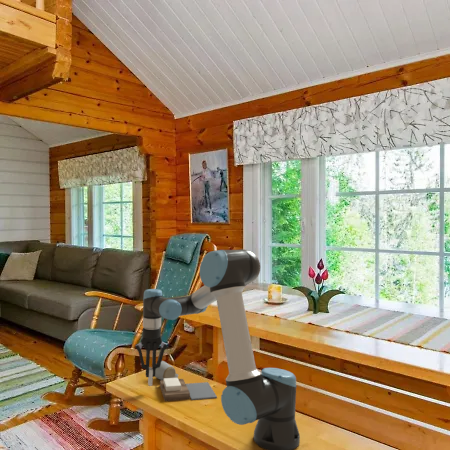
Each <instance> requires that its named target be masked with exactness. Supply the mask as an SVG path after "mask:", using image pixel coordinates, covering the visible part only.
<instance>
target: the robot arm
mask: <svg viewBox="0 0 450 450" xmlns="http://www.w3.org/2000/svg"><path fill="white" fill-rule="evenodd" d="M260 272H261V262H260V260H259V257H257V255H256V254H255V253H254V252H252V251H250V250H248V249H219V250H213V251H209V252H207V253H206V254H205V255H204V257H203V258H202V260H201V262H200V266H199V277H200V281H201V282H202V284H203V286H201V287H200V288H199V289H196V290H195V291H194V292H192V293H191V294H189V295H185V296H177V297H176V296H175V297H164V296H163V291H162V289H159V288H158V289H157V288H149V289H144V292H143V298H142V306H143V307H142V330H141V331H142V334H141V335H142V336H141V340H140V342H139V343H136V344H135V348H136V350H137V352H138V357H139V360H140V366H141V368H142V369H145V377H146V378H147V385H148V386H149V387H152V386H153V378H156V377H155V370H156V368H159V367H160V365H161V361H163V358H164V353H165V350H166V349H167V348H168V344H167V342H164V341H163V340H162V318H163V319H166V320H171V321H174V320H177V318H179V317H181V316H188V315H189V316H190V315H198V314H201V313H204V312H206V310H207V308H208V306H210V305H211V304H213V303H215V302H216V305H217V311H218V316H219V323H220V327H221V333H222V334H221V335H222V340H223V344H224V345H223V346H224V350H225V356H226V362H227V367H228V375H227V377H226V378H225V383H226V387H225V388H224V389H223V390H222V392H221V396H220V400H221V407H222V409H223V411H224V413H225V414H226V416H227V417H228V418H229V420H230V421H232V423H234V424H236V425H240V426H243V425H248V424H253V423H254V422H256V425H255V427H254V431H253V441H254V443H255V444H256V445H257V446H259V447H261V448H262V449H265V450H295V449H296V448H298V446H299V445H300V441H301V440H300V439H301V437H300V432H299V431H300V430H299V428H298V425H297V421H296V403H297V402H296V399H297V377H296V375H295V374H294V373H293V372H291V371H289V370H286V369H281V368H278V367H264V368H262V369H261V371H260V370H259V369H258V368H257V366H256V361H255V356H254V351H253V345H252V341H251V339H252V338H251V336H250V330H249V325H248V319H247V314H246V313H247V312H246V309H245V303H244V299H243V292H244V291H245V288H246V286H247V285H249V284H251V283H253V282H254V281H255V280H257V278H258V277H259V275H260ZM159 347H160V350H159V353H158V354H159V355H158V357H157V349H159ZM142 348H144V349H145V361H144V356H143V352H142ZM151 351H152V354H151ZM150 355H151V356H152V357H150ZM150 358H151V359H152V360H151V361H150ZM151 362H152V363H151ZM150 363H151V367H150ZM156 363H157V364H156Z"/></svg>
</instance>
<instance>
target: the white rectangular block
mask: <svg viewBox="0 0 450 450" xmlns="http://www.w3.org/2000/svg"><path fill="white" fill-rule="evenodd" d="M178 379H179V378H164V379H163V383H164V386H165V389H166V391H178V390H181V384H180V382H179V380H178Z"/></svg>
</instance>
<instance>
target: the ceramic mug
mask: <svg viewBox="0 0 450 450" xmlns="http://www.w3.org/2000/svg"><path fill="white" fill-rule="evenodd" d="M156 364H157V362H156ZM176 371H177V370H176V368H175V367H174V366H173V365H171V364H170V363H167V362H166V361H164V360H162V361H161V365H160V367H159V368H156V370H155V377H154V378H155V379H158V380H159V381H160V380H163V379H164V378H178V377H179V374H178V373H177V372H176ZM178 379H179V378H178Z"/></svg>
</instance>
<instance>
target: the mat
mask: <svg viewBox="0 0 450 450" xmlns="http://www.w3.org/2000/svg"><path fill="white" fill-rule="evenodd" d="M185 384H186V386H187V388H188V390H189V392H190V400H191V401H196V400H197V401H200V400H210V399H218V396H217V395H216V393H215V391H214V390H213V388H212V386H211V385H210V383H209V381H208V382H207V381H205V382H204V381H203V382H193V383H192V382H191V383H185Z"/></svg>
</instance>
